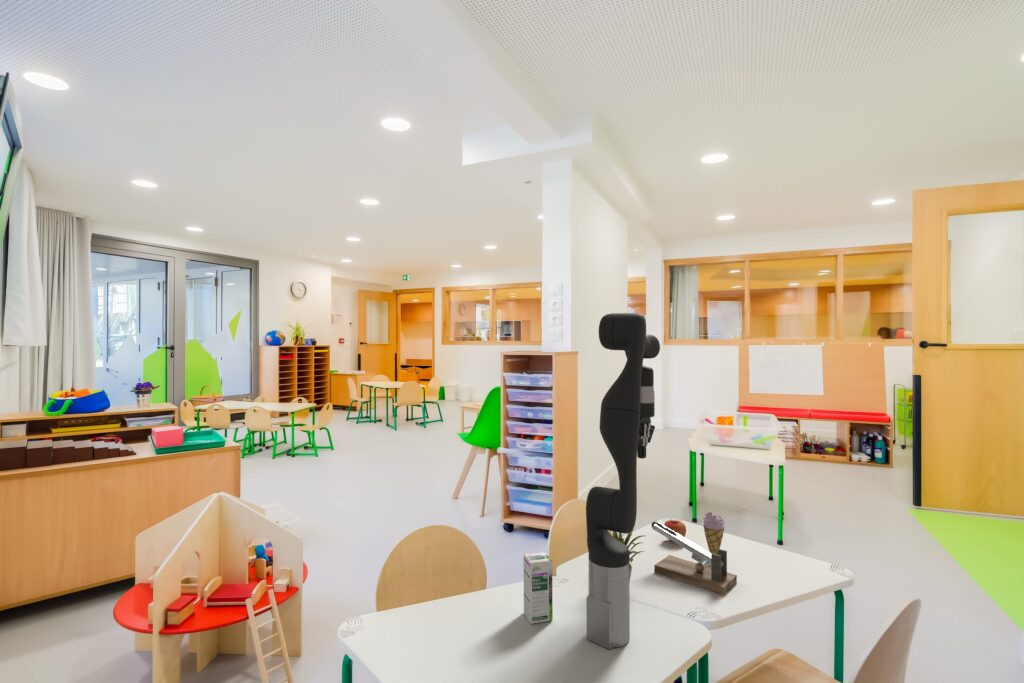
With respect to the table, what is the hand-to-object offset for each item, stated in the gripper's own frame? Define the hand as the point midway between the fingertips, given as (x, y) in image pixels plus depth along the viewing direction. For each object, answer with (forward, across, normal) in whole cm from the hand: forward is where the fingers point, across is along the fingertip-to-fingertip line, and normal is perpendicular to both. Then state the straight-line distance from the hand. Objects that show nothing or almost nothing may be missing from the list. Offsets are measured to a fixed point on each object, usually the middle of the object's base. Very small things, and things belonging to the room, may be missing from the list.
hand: (641, 457), depth 147 cm
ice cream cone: (+33, +22, -13) cm, 42 cm away
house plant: (+33, -16, -3) cm, 37 cm away
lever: (+26, +5, -11) cm, 29 cm away
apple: (+33, +27, +2) cm, 43 cm away
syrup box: (+33, -43, +5) cm, 55 cm away
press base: (+33, +5, -14) cm, 36 cm away
